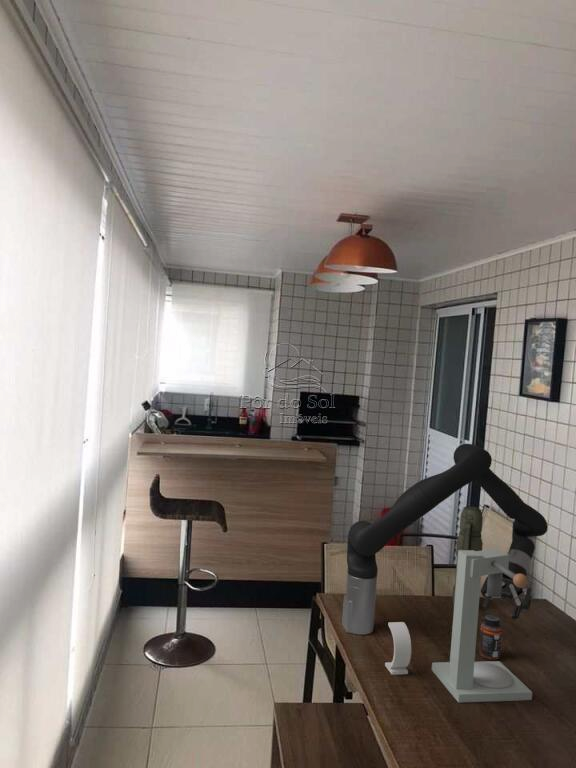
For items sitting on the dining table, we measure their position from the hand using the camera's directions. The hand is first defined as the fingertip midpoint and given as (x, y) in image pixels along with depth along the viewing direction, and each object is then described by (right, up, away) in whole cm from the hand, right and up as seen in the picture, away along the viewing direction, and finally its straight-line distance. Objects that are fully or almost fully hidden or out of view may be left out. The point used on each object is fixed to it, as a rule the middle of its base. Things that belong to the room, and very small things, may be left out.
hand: (499, 614), depth 179 cm
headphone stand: (-34, -9, -17) cm, 39 cm away
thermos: (0, -10, +34) cm, 36 cm away
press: (-12, -11, -26) cm, 30 cm away
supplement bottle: (-4, -11, -4) cm, 13 cm away
